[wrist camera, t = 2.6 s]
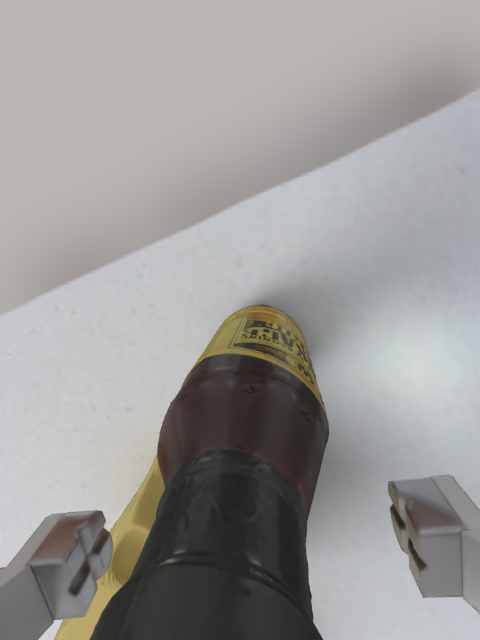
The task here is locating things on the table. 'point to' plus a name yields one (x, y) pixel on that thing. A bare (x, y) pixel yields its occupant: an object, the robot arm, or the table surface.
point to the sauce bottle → (232, 495)
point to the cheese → (120, 553)
